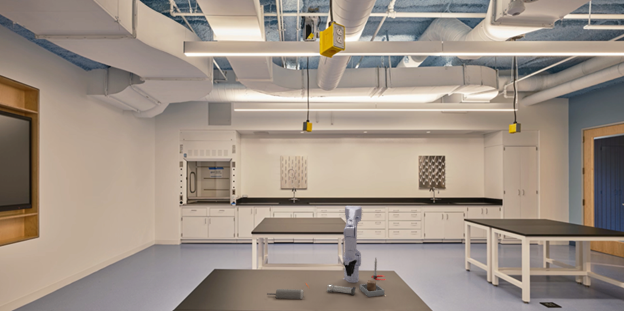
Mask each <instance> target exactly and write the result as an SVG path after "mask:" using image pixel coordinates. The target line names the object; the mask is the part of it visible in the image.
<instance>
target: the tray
mask: <svg viewBox="0 0 624 311" xmlns="http://www.w3.org/2000/svg"><path fill="white" fill-rule="evenodd" d="M359 290H360V291H361V292H362V293H363V294H365V296H367V297H375V296H376V297H378V296H385V289H384V288H382V287H381V286H379V284H377V283H376V291H368V290H367V283H360V284H359Z"/></svg>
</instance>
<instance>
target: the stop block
mask: <svg viewBox="0 0 624 311" xmlns="http://www.w3.org/2000/svg"><path fill="white" fill-rule="evenodd" d="M366 284H367V290H368V291H376V284H377V280H372V279H371V280H367V283H366Z"/></svg>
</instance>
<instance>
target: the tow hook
mask: <svg viewBox="0 0 624 311" xmlns="http://www.w3.org/2000/svg"><path fill="white" fill-rule="evenodd" d="M377 266H378V261H377V257H375V260H374V268H373V269H374V270H373V275H371V278H373V279H374V281H386V280H387V279H386V278H382V277H385V275H382V274H381V275H378V270H377V268H378V267H377Z"/></svg>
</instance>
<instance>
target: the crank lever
mask: <svg viewBox="0 0 624 311" xmlns="http://www.w3.org/2000/svg"><path fill="white" fill-rule="evenodd" d="M326 292H328V293H334V292H337V293H344V294H351V295H353V296H354V295H355V293H356V287H355V286H352V287H350V286H340V285H334V284H332V283H329V284H327V285H326Z"/></svg>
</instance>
